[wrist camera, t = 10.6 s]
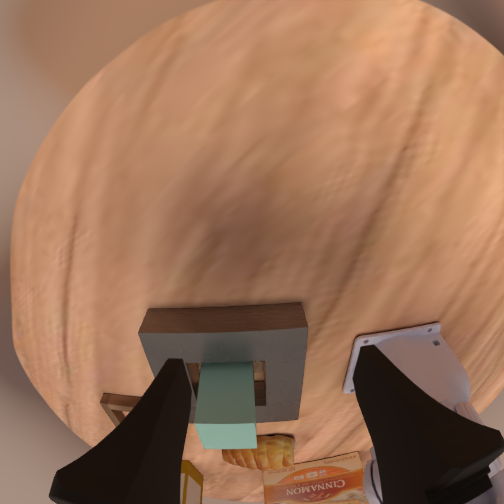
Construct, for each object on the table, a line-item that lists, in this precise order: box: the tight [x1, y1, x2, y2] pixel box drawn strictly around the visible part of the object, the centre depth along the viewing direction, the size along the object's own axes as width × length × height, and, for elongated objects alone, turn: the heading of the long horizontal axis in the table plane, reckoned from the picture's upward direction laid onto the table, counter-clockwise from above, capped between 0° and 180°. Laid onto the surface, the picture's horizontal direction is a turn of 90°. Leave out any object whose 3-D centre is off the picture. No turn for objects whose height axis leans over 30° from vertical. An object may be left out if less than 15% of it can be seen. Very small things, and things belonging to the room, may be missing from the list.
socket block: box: [138, 303, 308, 423], centre depth 24 cm, size 12×12×3 cm
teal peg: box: [194, 361, 257, 449], centre depth 21 cm, size 4×4×8 cm
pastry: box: [222, 435, 295, 471], centre depth 31 cm, size 9×7×4 cm
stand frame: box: [100, 393, 141, 427], centre depth 28 cm, size 8×8×2 cm
